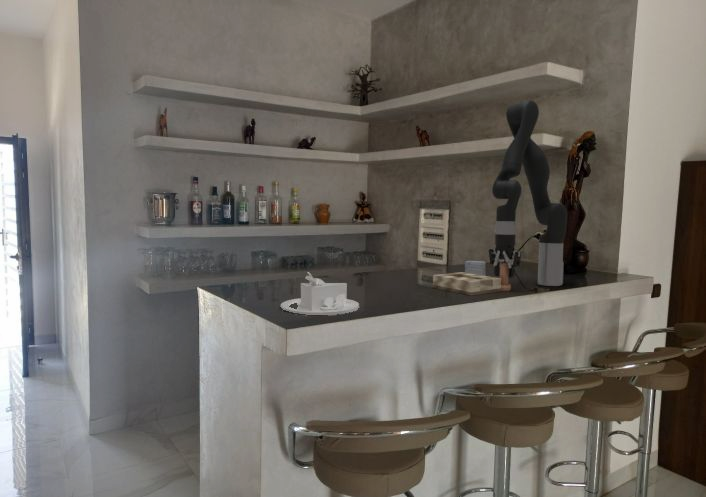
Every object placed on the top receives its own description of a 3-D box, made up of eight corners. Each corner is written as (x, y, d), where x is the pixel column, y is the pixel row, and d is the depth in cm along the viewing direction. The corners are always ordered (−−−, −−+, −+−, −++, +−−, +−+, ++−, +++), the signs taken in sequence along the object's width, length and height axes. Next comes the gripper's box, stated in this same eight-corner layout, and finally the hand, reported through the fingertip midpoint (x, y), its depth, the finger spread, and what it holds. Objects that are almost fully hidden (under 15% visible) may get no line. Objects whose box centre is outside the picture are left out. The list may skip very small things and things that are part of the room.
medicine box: (485, 281, 217) (486, 261, 216) (483, 283, 213) (484, 262, 212) (466, 280, 221) (467, 260, 220) (464, 281, 217) (464, 261, 216)
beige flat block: (432, 287, 201) (433, 275, 200) (461, 284, 210) (462, 272, 209) (471, 295, 184) (471, 281, 184) (500, 291, 193) (501, 278, 193)
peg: (502, 288, 201) (503, 262, 200) (513, 290, 196) (514, 264, 195) (493, 289, 198) (494, 263, 197) (504, 291, 193) (505, 265, 193)
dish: (294, 319, 146) (294, 280, 145) (272, 303, 169) (271, 270, 168) (371, 312, 156) (372, 276, 155) (340, 298, 179) (341, 266, 178)
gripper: (527, 233, 191) (525, 278, 193) (496, 231, 203) (495, 274, 205) (514, 234, 187) (512, 280, 189) (484, 232, 199) (482, 275, 200)
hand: (504, 276), depth 197 cm, fingers open, 5 cm apart
